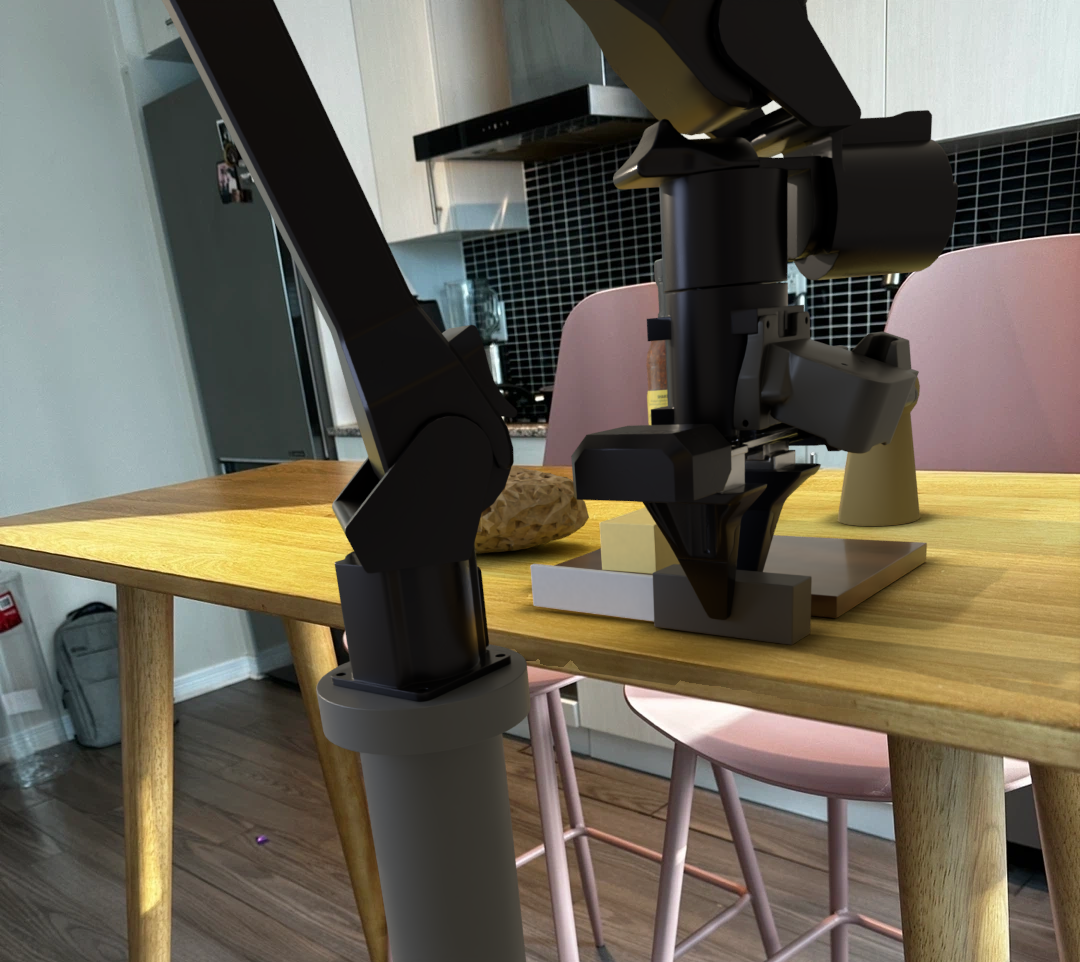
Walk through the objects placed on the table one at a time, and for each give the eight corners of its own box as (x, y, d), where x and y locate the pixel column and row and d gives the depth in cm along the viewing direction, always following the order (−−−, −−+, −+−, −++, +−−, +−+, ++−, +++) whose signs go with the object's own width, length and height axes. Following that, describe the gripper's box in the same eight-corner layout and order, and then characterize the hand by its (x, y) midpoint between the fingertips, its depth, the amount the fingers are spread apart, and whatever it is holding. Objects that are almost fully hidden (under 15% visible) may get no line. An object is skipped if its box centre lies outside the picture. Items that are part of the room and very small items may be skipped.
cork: (933, 513, 78) (941, 361, 75) (898, 528, 74) (904, 368, 71) (859, 509, 82) (863, 365, 79) (822, 523, 78) (824, 372, 75)
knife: (792, 645, 51) (793, 586, 50) (523, 609, 61) (519, 559, 60) (810, 633, 52) (812, 576, 51) (546, 600, 62) (542, 552, 61)
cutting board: (836, 618, 54) (837, 596, 54) (538, 589, 66) (537, 571, 66) (926, 561, 64) (927, 542, 64) (654, 545, 76) (653, 529, 76)
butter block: (656, 574, 62) (654, 524, 61) (601, 570, 64) (598, 522, 63) (701, 555, 66) (700, 508, 65) (648, 551, 68) (646, 506, 67)
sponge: (338, 567, 85) (456, 541, 68) (331, 471, 84) (450, 421, 68) (475, 566, 92) (612, 543, 76) (470, 478, 91) (608, 435, 75)
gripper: (801, 272, 36) (799, 688, 42) (965, 268, 50) (948, 583, 55) (552, 300, 43) (578, 656, 48) (756, 290, 56) (759, 569, 62)
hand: (731, 612), depth 53 cm, fingers closed on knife, 2 cm apart
